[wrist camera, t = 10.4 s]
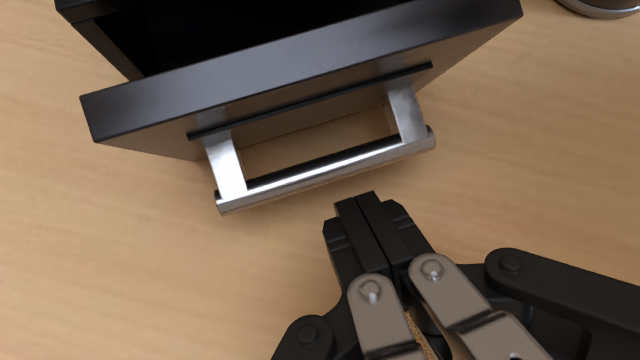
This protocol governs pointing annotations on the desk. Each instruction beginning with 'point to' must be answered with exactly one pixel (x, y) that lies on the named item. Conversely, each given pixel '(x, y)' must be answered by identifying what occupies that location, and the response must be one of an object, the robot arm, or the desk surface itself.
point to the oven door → (299, 95)
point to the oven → (196, 27)
